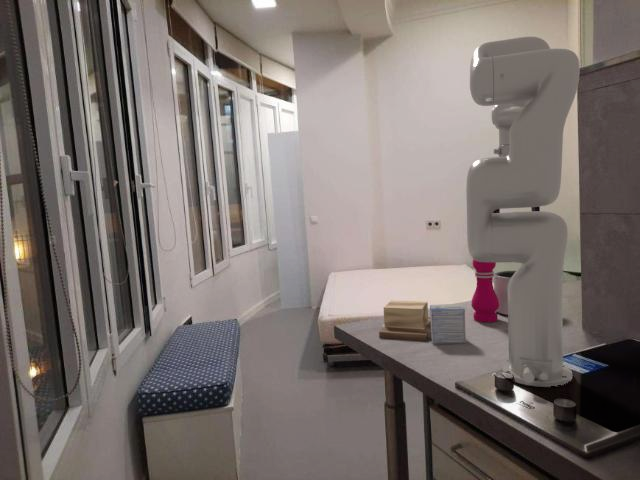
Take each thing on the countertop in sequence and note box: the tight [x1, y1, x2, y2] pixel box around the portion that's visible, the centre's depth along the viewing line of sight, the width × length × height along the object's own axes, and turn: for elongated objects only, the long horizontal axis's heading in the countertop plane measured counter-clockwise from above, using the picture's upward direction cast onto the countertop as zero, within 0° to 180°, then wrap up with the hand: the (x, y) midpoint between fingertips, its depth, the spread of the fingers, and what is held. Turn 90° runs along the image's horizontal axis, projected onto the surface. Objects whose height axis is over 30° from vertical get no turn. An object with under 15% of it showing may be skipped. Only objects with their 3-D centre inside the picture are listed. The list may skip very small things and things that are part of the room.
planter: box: [493, 270, 517, 317], centre depth 137 cm, size 13×13×11 cm
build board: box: [378, 316, 431, 342], centre depth 126 cm, size 16×12×2 cm
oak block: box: [383, 300, 429, 328], centre depth 127 cm, size 8×10×5 cm
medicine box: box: [429, 303, 467, 345], centre depth 115 cm, size 8×4×9 cm, turn 80°
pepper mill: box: [471, 258, 499, 323], centre depth 130 cm, size 7×7×20 cm
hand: (515, 216), depth 127 cm, fingers open, 9 cm apart
